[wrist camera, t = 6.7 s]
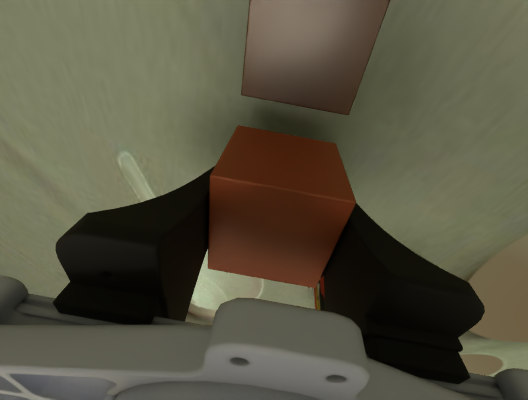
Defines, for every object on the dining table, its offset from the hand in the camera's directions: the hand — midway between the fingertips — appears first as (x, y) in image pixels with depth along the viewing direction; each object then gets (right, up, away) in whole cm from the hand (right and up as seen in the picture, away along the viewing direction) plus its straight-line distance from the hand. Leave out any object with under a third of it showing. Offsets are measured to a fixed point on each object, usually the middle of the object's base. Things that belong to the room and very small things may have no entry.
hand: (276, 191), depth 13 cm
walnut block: (+2, +9, +1) cm, 9 cm away
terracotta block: (0, +1, +1) cm, 1 cm away
